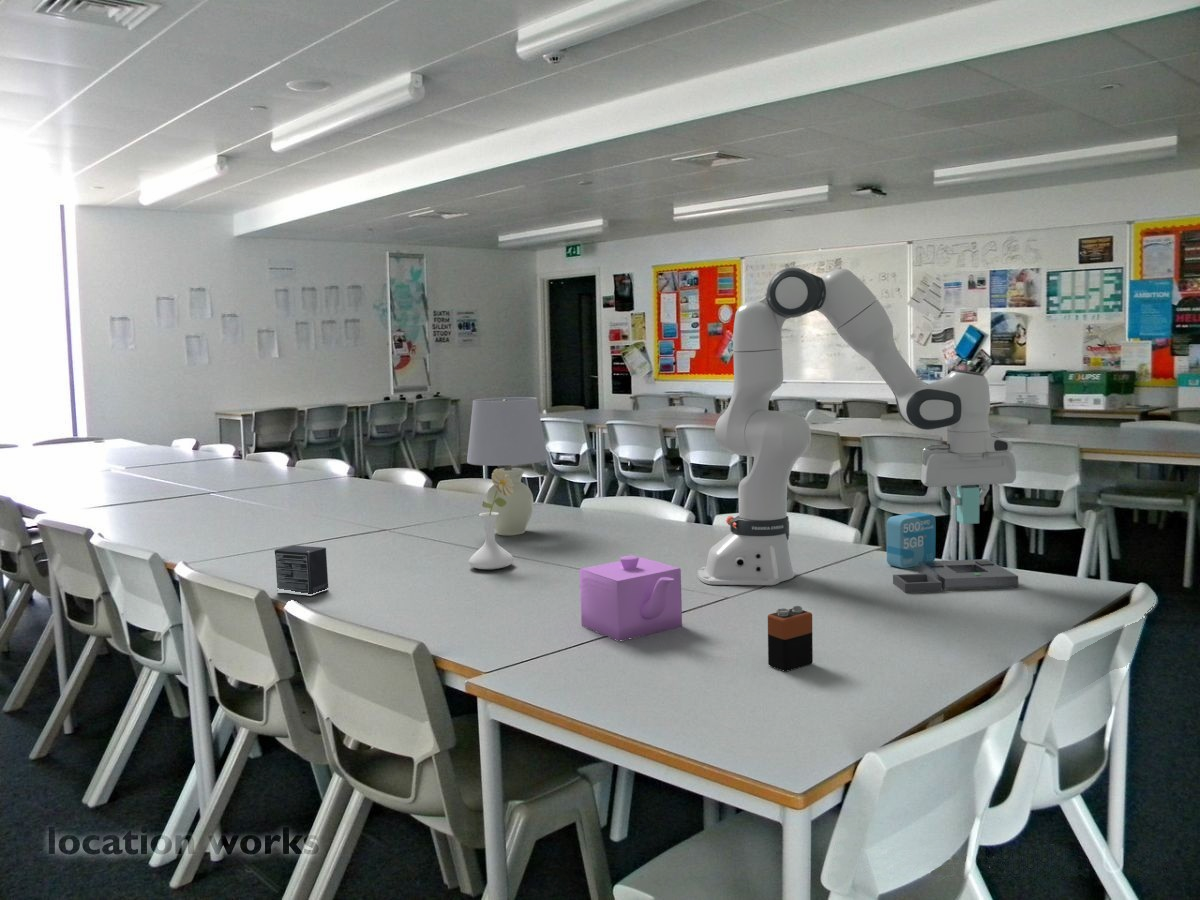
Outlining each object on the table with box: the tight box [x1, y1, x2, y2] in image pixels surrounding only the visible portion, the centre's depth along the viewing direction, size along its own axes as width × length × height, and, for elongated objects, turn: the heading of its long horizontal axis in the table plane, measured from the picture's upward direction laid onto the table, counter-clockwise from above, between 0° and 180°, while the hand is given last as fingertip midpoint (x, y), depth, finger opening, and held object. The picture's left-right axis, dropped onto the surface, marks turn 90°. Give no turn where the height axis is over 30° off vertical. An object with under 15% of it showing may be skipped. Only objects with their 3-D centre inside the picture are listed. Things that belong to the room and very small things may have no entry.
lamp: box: [466, 396, 549, 537], centre depth 281 cm, size 24×24×40 cm
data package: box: [886, 511, 937, 569], centre depth 228 cm, size 12×4×12 cm, turn 120°
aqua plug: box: [956, 485, 981, 525], centre depth 211 cm, size 4×4×9 cm
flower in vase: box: [468, 468, 515, 570], centre depth 239 cm, size 13×11×25 cm
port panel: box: [918, 558, 1019, 591], centre depth 213 cm, size 16×16×3 cm
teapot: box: [579, 555, 683, 642], centre depth 185 cm, size 15×25×14 cm, turn 34°
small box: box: [274, 544, 329, 594], centre depth 221 cm, size 11×6×10 cm, turn 65°
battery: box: [767, 605, 814, 672], centre depth 161 cm, size 4×7×10 cm, turn 123°
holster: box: [892, 573, 943, 594], centre depth 208 cm, size 8×8×2 cm
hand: (968, 504), depth 211 cm, fingers closed on aqua plug, 4 cm apart
